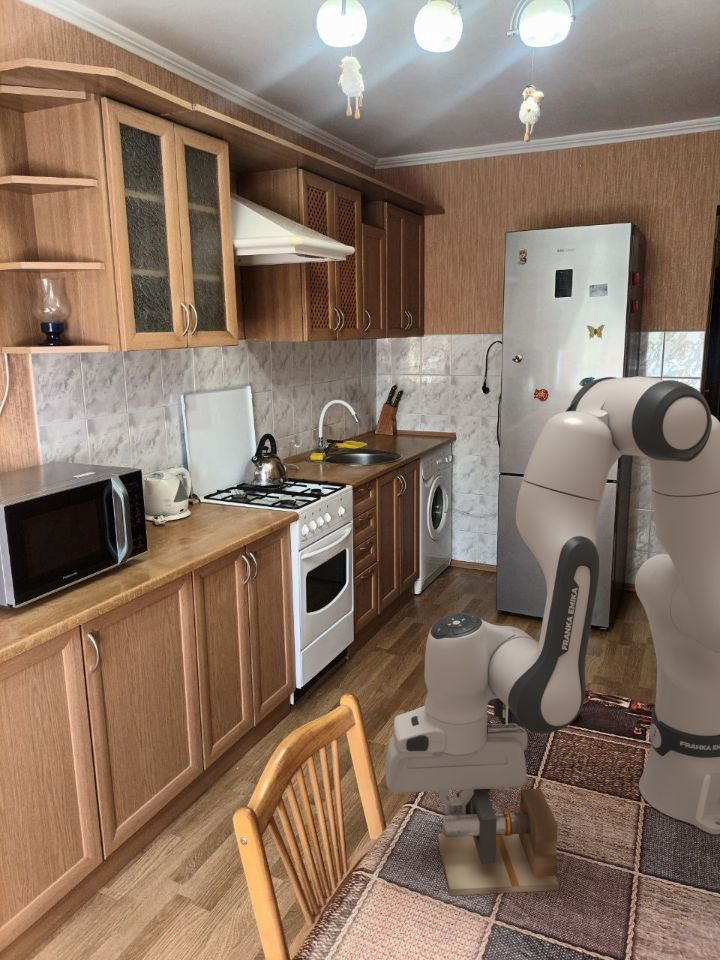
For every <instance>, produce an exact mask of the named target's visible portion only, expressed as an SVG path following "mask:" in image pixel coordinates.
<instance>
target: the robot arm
mask: <svg viewBox="0 0 720 960" xmlns="http://www.w3.org/2000/svg"><path fill="white" fill-rule="evenodd" d="M623 455H624V456H635V457H636V456H637V457H645V458H647V460H648V462H649V467H650V485H651V496H652V505H653V514H654V515H653V516H654V524H655V533H656V537H657V539H658V541H659V543H660V544H661V546H662V547H663V548H664V550H665V552H666V553H660V554H655V555H653V556H652V557H649V558H648V559H647V560H645V561H644V562H643V563H642V565H641V566H640V567H639V569H638V571H637V572H636V576H635V580H634V581H635V582H634V589H635V592H636V595H637V598H638V599H639V601H640V603H641V604H642V606H643V609H644V611H645V613H646V616H647V617H646V618H647V620H648V624H649V629H650V632H651V637H652V641H653V648H654V651H655V657H656V667H657V668H656V670H657V671H656V672H657V673H656V675H657V676H656V690H655V691H656V692H655V693H656V694H655V705H654V706H653V708H652V711H651V721H650V729H649V730H650V731H649V739H650V741H649V743H650V747H649V752H648V756H647V759H646V764H645V767H644V770H643V773H642V774H641V776H640V779H639V780H638V790H639V793H640V794H641V796H642V797H643V799H644V800H645V801H646V802H647V803H648V804H649V805H651V806H652V807H653V808H654V809H656V810H657V811H659V812H661V813H662V814H664V815H666V816H668V817H671V818H673V819H675V820H678V821H682V822H685V823H688V824H691V825H694V826H695V827H696V828H699V829H700V830H702V831H704V832H706V833H708V834H710V835H720V421H719V419H718V418H717V417H716V416H714V415H713V414H712V413H711V409H710V406H709V404H708V402H707V400H706V398H705V396H704V395H703V394H702V393H701V392H700V391H699V390H698V389H696V388H695V387H693V386H691V385H689V384H688V383H684V382H681V381H678V380H674V379H673V380H672V379H666V380H663V379H661V378H656V377H649V376H638V375H637V376H632V377H615V376H607V377H606V376H605V377H602V378H600V377H599V378H597V379H593V380H592V381H589V382H587V383H586V384H585V385H583V386H582V387H581V388H580V389H579V390H578V391H577V393H576V394H575V395H574V397H573V399H572V401H570V405H568V407H567V408H566V410H565V411H562V412H560V413H556V414H554V415H552V416H551V417H550V418H549V419H548V420H547V421H546V422H545V424H544V426H543V428H542V430H541V432H540V433H539V436H538V438H537V440H536V442H535V443H534V447H533V449H532V452H531V454H530V456H529V460H528V462H527V465H526V467H525V472H524V474H523V478H522V481H521V484H520V488H519V490H518V491H519V492H518V495H517V500H516V506H515V507H516V508H515V509H516V510H515V525H516V528H517V531H518V532H519V535H520V536H521V538H522V540H523V541H524V542H525V545H526V546H527V547H528V548H529V550H530V551H531V552H532V554H533V555H534V556H535V559H536V561H537V562H538V563H539V566H540V567H541V571H542V573H543V575H544V578H545V582H546V600H545V607H544V611H543V617H542V624H541V628H540V635H539V640H538V641H537V640H536V639H535V638H534V637H532V636H531V635H529V634H528V633H527V632H526V631H524V630H522V629H520V628H518V627H516V626H513V625H509V624H508V625H507V624H506V625H505V624H503V625H498V624H497V625H496V624H492V623H490V622H487V621H486V620H483V619H482V618H481V617H480V616H478V615H476V614H474V613H469V612H455V613H450V614H447V615H445V616H443V617H440V618H439V619H437V620H436V621H435V622H434V623H433V624H432V626H431V628H430V629H429V632H428V635H427V639H426V643H425V655H424V683H425V685H426V690H427V691H426V692H427V694H426V697H425V701H424V705H423V706H420V707H418V708H416V709H413V710H410V711H407V712H405V713H400V714H397V716H395V717H394V719H393V734H392V736H391V737H390V739H389V741H388V744H387V745H388V746H387V750H386V757H385V765H384V766H385V767H384V768H385V771H384V775H385V785H386V788H387V789H388V790H389V791H390V793H392V794H404V793H405V794H407V793H422V792H423V793H425V792H427V793H428V792H437V793H438V797H439V798H440V800H441V801H442V803H443V804H444V812H445V816H446V815H456V814H466V805H467V803H468V802H469V800H470V799H471V798H472V796H473V795H474V789H490V790H491V789H511V788H521V787H523V786H524V784H525V783H526V781H527V765H526V756H525V751H526V749H527V748H528V737H529V736H528V732H527V731H529V732H532V733H535V734H549V733H554V732H558V731H561V730H563V729H564V728H567V727H568V726H570V725H571V724H572V723H573V722H574V721H575V720H576V719H577V717H578V716H579V714H580V713H581V711H582V709H583V706H584V704H585V700H586V685H587V684H586V683H587V682H586V681H587V680H586V659H587V658H586V657H587V652H588V646H589V645H588V644H589V639H590V632H591V626H592V622H593V615H594V610H595V609H594V608H595V603H596V597H597V591H598V584H599V577H600V575H599V574H600V556H599V551H598V549H597V526H598V518H599V512H600V508H601V505H602V501H603V498H604V494H605V491H606V486H607V482H608V477H609V472H610V471H611V469H612V467H613V466H614V464H615V463H616V462H617V461H618V460H619V459H620V458H621V457H622V456H623ZM496 698H499V699H500V700H501V701H502V702H503V703H504V704H505V705H506V706H507V707H508V708H509V709H510V710H511V712H512V713H513V714H514V716H515V717H516V718H517V719H518V720H519V722H520V723H521V724H522V725H523V728H522V727H520V726H518V725H517V724H514V723H510V724H505V725H503V724H502V723H500V724H499V723H490V724H488V705H489V702H490V701H492V700H494V699H496ZM518 729H520V730H518ZM459 790H463V791H462V793H461V794H460V796H459V797H457V796H456V797H449V795H450V791H459Z"/></svg>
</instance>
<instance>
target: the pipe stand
mask: <svg viewBox="0 0 720 960" xmlns="http://www.w3.org/2000/svg"><path fill="white" fill-rule="evenodd" d="M519 795H520V800H519V812H527V813H528V816H529V820H530V833H529V834H512V835H511V836H505V835H496V862H495V864H481V862H480V858H479V855H478V852H477V848H476V845H475V841H474V838H473V836H466V837H444V833H437V842H438V848H439V851H440V855H441V860H442V864H443V865H442V866H443V869H444V874H445V878H446V883H447V886H448V888H447V889H448V892H449V896H450V897H451V896H468V895H469V896H470V895H472V896H473V895H486V894H487V895H489V894H491V895H492V894H508V893H509V894H510V893H526V892H527V893H528V892H545V891H547V892H548V891H549V892H550V891H559V889H560V883H559V881H558V879H557V876H556V875H557V874H556V872H557V871H556V870H557V850H558V830H559V829H558V828H559V824H558V823H557V820H556V818H555V816H554V814H553V812H552V810H551V807H550V805H549V803H548V801H547V799H546V797H545V794H544V792H543V791H542V788H525V789H524V788H521V789H520V794H519Z"/></svg>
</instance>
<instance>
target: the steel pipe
mask: <svg viewBox="0 0 720 960" xmlns="http://www.w3.org/2000/svg"><path fill="white" fill-rule="evenodd" d="M494 813H495V816H496V819H497V824H496V835H505V836H511V835H512V834H529V833H530V820H529V816H528V813H527V812H520V811H517V812H516V811H515V812H513V811H512V812H510V811H502V812H494ZM479 828H480V822H479V818H478V815H477V814H467V815H446V814H445V815H442V832H443V833H442V834H444V837H466V836H479Z"/></svg>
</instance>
